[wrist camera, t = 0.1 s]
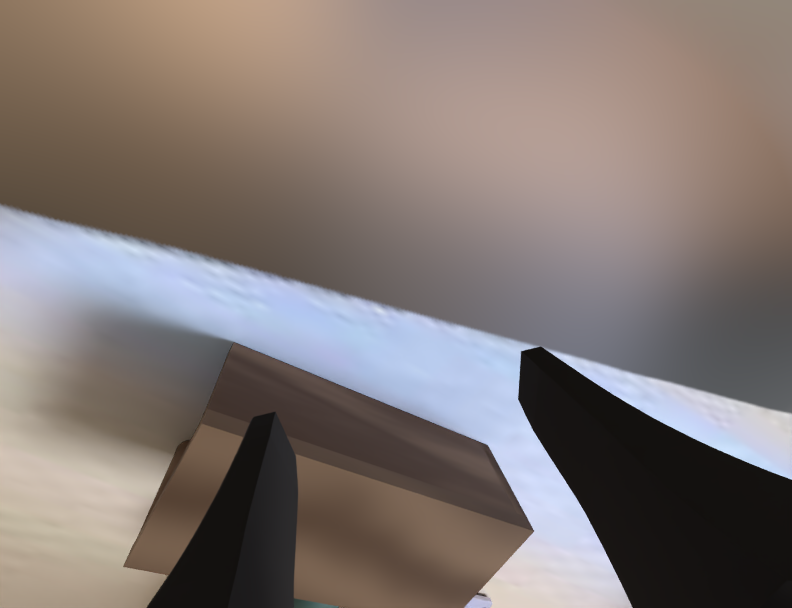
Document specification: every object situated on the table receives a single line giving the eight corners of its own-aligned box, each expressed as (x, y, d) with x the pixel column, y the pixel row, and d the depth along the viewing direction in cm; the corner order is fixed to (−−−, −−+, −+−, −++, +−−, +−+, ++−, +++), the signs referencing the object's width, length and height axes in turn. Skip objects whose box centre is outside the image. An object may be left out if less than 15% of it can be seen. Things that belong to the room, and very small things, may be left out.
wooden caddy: (421, 528, 30) (446, 626, 24) (172, 456, 23) (123, 566, 17) (488, 445, 27) (534, 531, 22) (234, 342, 21) (201, 423, 15)
